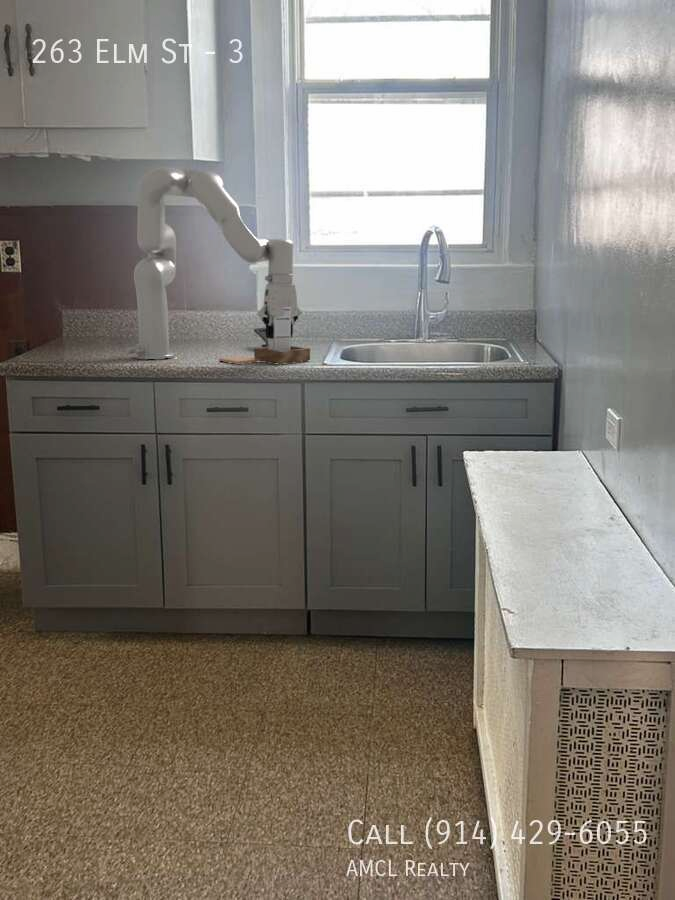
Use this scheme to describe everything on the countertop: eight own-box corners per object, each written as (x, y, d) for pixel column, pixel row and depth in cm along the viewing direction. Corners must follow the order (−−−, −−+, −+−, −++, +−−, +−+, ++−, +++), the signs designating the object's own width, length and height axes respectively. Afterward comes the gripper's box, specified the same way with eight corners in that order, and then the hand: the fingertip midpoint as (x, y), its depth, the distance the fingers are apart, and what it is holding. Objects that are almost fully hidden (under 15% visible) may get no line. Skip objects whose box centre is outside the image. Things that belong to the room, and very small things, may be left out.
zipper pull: (277, 327, 365) (292, 335, 342) (277, 346, 367) (292, 355, 343) (251, 328, 363) (265, 336, 340) (252, 347, 365) (265, 356, 341)
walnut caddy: (280, 365, 322) (280, 352, 321) (254, 361, 331) (254, 348, 330) (310, 361, 330) (309, 348, 330) (283, 357, 339) (283, 344, 338)
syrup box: (291, 352, 329) (292, 306, 326) (273, 353, 326) (274, 306, 323) (283, 350, 334) (284, 304, 330) (266, 350, 331) (267, 304, 328)
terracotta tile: (239, 364, 322) (239, 361, 322) (218, 361, 329) (218, 358, 329) (263, 361, 329) (263, 358, 329) (243, 358, 336) (243, 355, 336)
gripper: (262, 281, 317) (261, 340, 321) (310, 280, 327) (308, 337, 331) (250, 279, 323) (249, 337, 327) (297, 278, 333) (296, 334, 337)
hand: (279, 337), depth 329 cm, fingers closed on syrup box, 6 cm apart
